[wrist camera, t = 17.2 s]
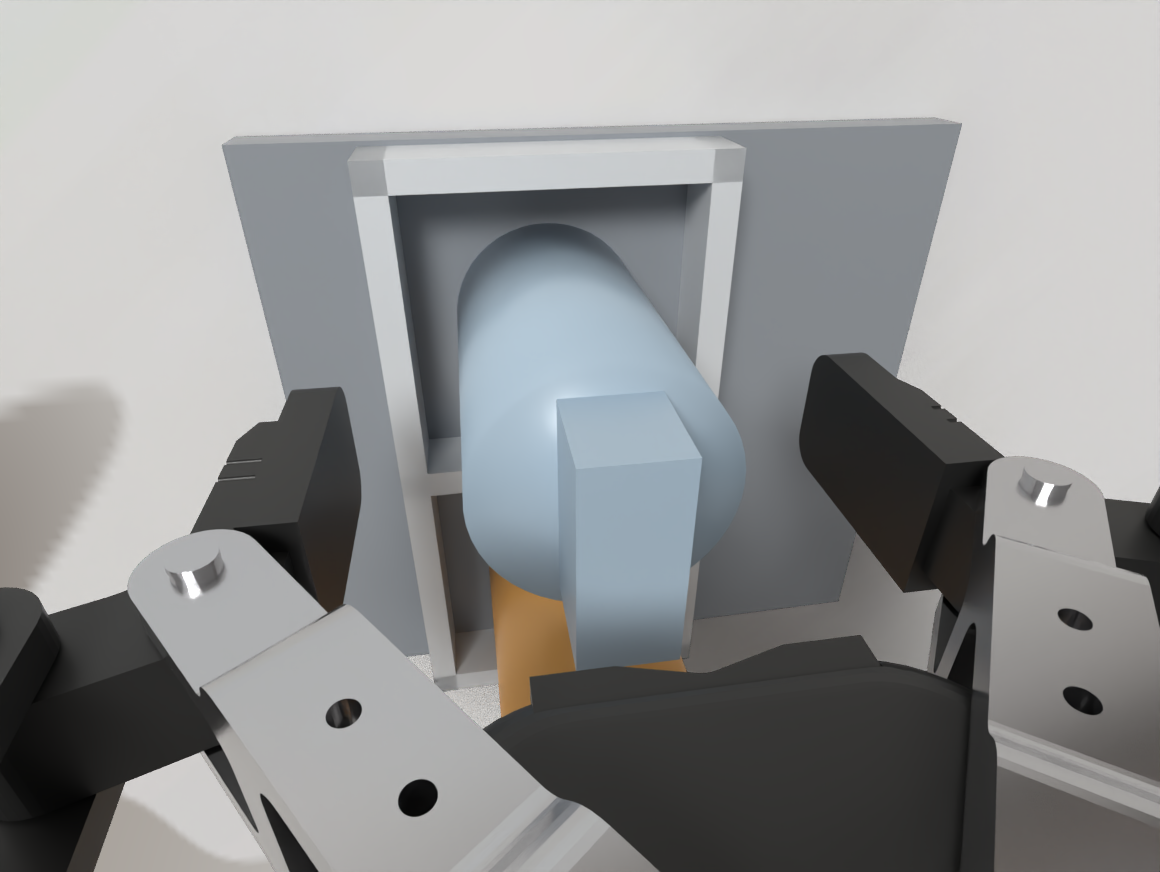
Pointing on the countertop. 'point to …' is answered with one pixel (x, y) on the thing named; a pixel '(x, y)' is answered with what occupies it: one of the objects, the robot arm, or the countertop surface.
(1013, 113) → the countertop surface
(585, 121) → the countertop surface
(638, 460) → the light blue bottle
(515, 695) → the orange bottle
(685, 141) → the housing
